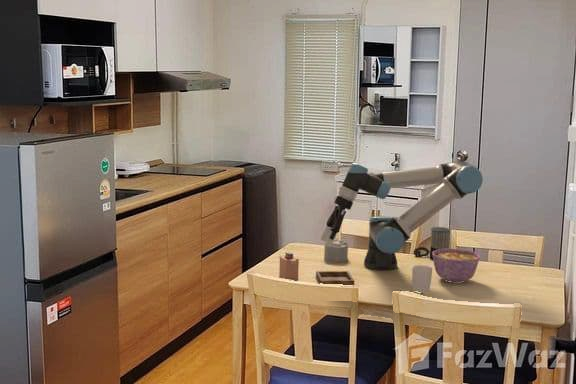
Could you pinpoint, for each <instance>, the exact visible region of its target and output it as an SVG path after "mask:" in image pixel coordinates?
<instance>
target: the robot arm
mask: <svg viewBox="0 0 576 384" xmlns="http://www.w3.org/2000/svg"><path fill="white" fill-rule="evenodd" d="M368 171H369V169H368V168H367V167H365V166H363V165H361V164H359V163H355V162H353V163H352V164H350V166H349V169H348V170H347V174H346V175H345V178H344V180H343V182H342V185H341V186H339V188H338V189H339V191H338V195H337V196H336V197H335V200H334V204H336V205H335V207H334V209H333V210H332V212H331V215H330V216H329V218H328V220H327V221H326V225H325V228H324V230H323V232H322V234H321V237H320V240H321V241H323V242H324V246H325V245H326V246H329V247H331V245H332V243H333V241H334V239H336V236H337V235H338V233H339V232H340V230H341V227H342V224H343V221H344V219H345V216H346V213H347V210H351V209H352V207H353V204H354V201H356V198H357V196H358V194H359V190H361V191H362V192H365V193H368V194H370V195H372V196H375V197H376V198H379V199H381V200H385V199H386V198H387V196H388V195H389V193H390V191H391V189H397V188H409V187H417V186H426V185H428V186H430V185H438V186H437V187H436V188H435V189H434V190H432V191H431V192H430V193H428V194H427V195H426V196H424V197H423V198H422V199H421V200H419V201H418V202H417V203H415V204H414V205H412V206H411V207H409V208H408V210H406V211H405V212H404V213H402V214H401V215H400V216H398V217H397V216H385V215H384V216H383V215H379V216H378V215H377V216H376V215H375V216H371V217H370V218H369V223H368V225H369V229H368V233H369V234H368V248H367V251H366V253H365V257H364V258H363V259H364V261H363V266H364V267H365V268H367V269H369V270H370V269H371V270H376V271H392V270H395V269H397V268H398V259H397V256H396V253H398V252H399V251H401V249H402V248H403V246H404V244H405V243H406V242H407V241H408V240H410V239H411V236H412V233H413V232H414V231H415V230H417V229H418V228H419V227H421V226H422V225H423V224H425V223H426V222H427V221H428V220H430V219H431V218H433V217H434V216H435V215H436V214H437V213H439V212H440V211H442V209H444V208H445V207H447V206H448V205H449V204H451V203H452V202H453V201H454V200H462V199H463V198H464V197H465V196H467V195H468V194H469V195H470V194H473V193H476V192H477V191H478V190H480V188H481V187H482V184H483V179H484V178H483V174H482V172H481V170H480V169H479V168H477V166H476V165H473V164H470V163H468V162H465V161H453V162H447V163H439V164H438V165H437V166H434V167H424V168H413V169H405V170H404V169H402V170H396V171H395V170H394V171H384V172H375V173H374V172H368ZM346 209H347V210H346Z"/></svg>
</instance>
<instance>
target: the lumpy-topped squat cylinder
mask: <svg viewBox="0 0 576 384" xmlns="http://www.w3.org/2000/svg"><path fill="white" fill-rule="evenodd" d="M348 254H349V244H348V242H347V241H345V240H344V239H340V240H338V239H337V238H335V239H334V241H333V243H332V245H331V247H329V246H326V245H325V244H324V255H323V260H324V261H326V262H335V263H344V262H346V261H347V260H348V256H349V255H348Z"/></svg>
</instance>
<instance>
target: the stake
mask: <svg viewBox="0 0 576 384" xmlns="http://www.w3.org/2000/svg"><path fill="white" fill-rule="evenodd" d="M284 255H285V258H286V259H293V256H294V253H293V252H285V254H284Z"/></svg>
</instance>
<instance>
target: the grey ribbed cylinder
mask: <svg viewBox="0 0 576 384" xmlns="http://www.w3.org/2000/svg"><path fill="white" fill-rule="evenodd" d="M430 230H431V232H430V233H431V234H430V247H429V248H427V247H424V246H420V247H416V248H415V249H414V250H413V255H415V256H416V257H418V258H420V257H421V258H423V257H422V256H425V257H427V256H428V255H429V257H428V259H429V258H430V259H429V260H431V261H433V255H432V253H433V251H435V250H438V249H450V235H451V233H450V232H451V229H450V228H448V227H441V226H435V227H431V228H430ZM429 249H430V250H429ZM421 251H425V252H426V253H423V254H421Z"/></svg>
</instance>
